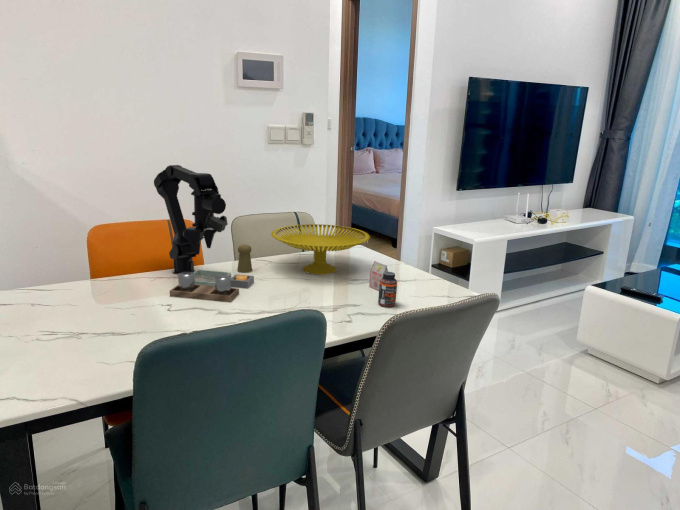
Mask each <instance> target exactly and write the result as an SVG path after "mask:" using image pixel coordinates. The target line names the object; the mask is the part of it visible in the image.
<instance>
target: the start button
mask: <svg viewBox="0 0 680 510" xmlns="http://www.w3.org/2000/svg"><path fill="white" fill-rule="evenodd" d="M246 275H247V274H237V276H236V280H244V281H246V280H247V276H246Z"/></svg>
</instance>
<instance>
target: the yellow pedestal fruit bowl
mask: <svg viewBox="0 0 680 510" xmlns="http://www.w3.org/2000/svg"><path fill="white" fill-rule="evenodd" d="M322 228H323V229H322ZM314 229H315V230H314ZM307 230H308V231H307ZM333 230H334V231H333ZM318 231H319V232H318ZM270 235H271V237H272V238H274V239H275V240H277V241H278V242H280V243H283V244H285V245H287V246H289V247H292V248H294V249H298V250H302V251H309V252H310V251H311V252H313V262H312V263H310V264H309V263H308V264H307V265H304V266H303V267H302V270H304V271H303V272H305V273H307V272H308V273H307V274H311V273H313V274H312V275H329V274H330V273H331V274H334V273H336V272H337V268H336V267H335V266H333V265H331V264H329V263H328V262H327V252H337V251H338V252H339V251H344V250H349V249H351V248H354V247H356V246H359V245H361V244H363V243H365V242H368V241H369V240H370V239H371V234H370V235H369V233H368V232H366V231H364V230H361V229H357V228H355V227H354V228H353V227H349V226H343V225H336V224H324V223H323V224H321V223H320V224H319V223H317V224H315V223H313V224H311V223H310V224H294V225H286V226H282V227H279V228H278V227H277V229H273V230H272V231H271V232H270ZM335 271H336V272H335Z"/></svg>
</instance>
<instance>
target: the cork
mask: <svg viewBox="0 0 680 510" xmlns="http://www.w3.org/2000/svg"><path fill="white" fill-rule="evenodd" d="M237 251H238V253H239V254H238V262H237V270H236V271H237V272H238V273H241V274H249V273H252V272H253V266H252V259H251V254H252V253H251V252H252V246H251V245H249V244H240V245H239V246H238V248H237Z"/></svg>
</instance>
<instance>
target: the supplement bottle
mask: <svg viewBox="0 0 680 510" xmlns="http://www.w3.org/2000/svg"><path fill="white" fill-rule="evenodd" d="M397 290H398V280H397V279H396V273H395V272H393V271H388V272H384V273H383V278H381V279H380V284H379V291H378V299H377V303H378V305H379V306H380V307H384V308H392V307H395V306H396V303H397V302H396V300H397Z"/></svg>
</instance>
